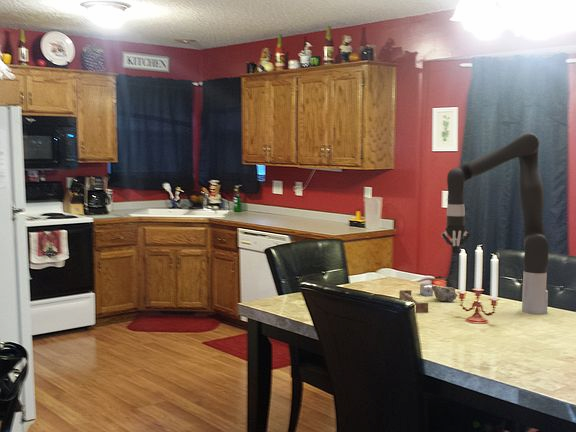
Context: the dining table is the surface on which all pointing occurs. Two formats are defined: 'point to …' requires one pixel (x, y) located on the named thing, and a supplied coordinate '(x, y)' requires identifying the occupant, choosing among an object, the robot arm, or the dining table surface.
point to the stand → (407, 296)
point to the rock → (444, 293)
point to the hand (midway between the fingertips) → (455, 254)
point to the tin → (426, 290)
